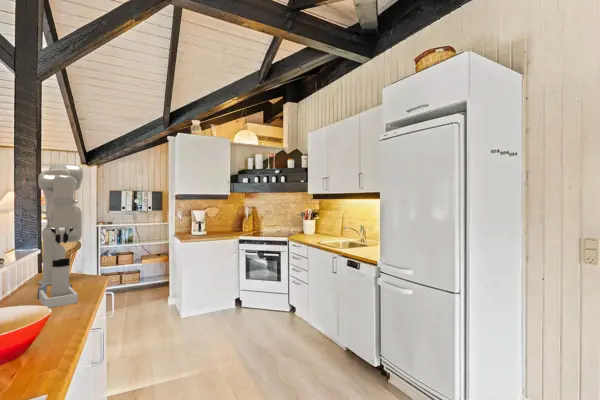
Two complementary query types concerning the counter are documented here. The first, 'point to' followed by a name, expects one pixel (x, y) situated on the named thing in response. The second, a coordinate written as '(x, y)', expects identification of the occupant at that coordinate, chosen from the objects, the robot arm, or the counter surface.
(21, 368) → the counter surface
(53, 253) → the robot arm
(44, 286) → the cover gate
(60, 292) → the travel mug
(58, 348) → the counter surface
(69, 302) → the grey rectangular frame
